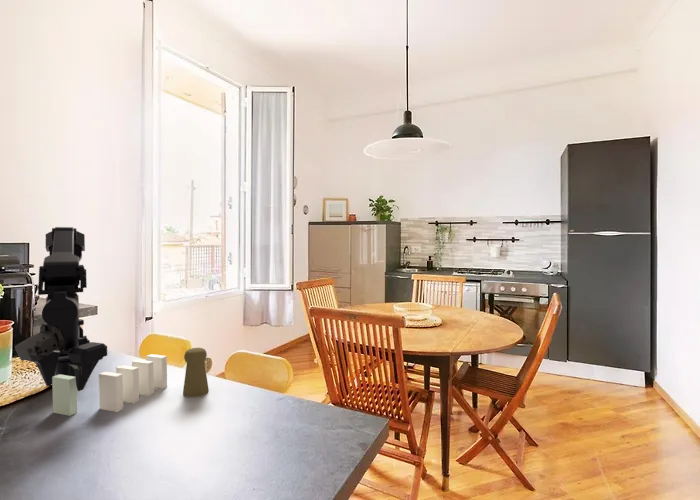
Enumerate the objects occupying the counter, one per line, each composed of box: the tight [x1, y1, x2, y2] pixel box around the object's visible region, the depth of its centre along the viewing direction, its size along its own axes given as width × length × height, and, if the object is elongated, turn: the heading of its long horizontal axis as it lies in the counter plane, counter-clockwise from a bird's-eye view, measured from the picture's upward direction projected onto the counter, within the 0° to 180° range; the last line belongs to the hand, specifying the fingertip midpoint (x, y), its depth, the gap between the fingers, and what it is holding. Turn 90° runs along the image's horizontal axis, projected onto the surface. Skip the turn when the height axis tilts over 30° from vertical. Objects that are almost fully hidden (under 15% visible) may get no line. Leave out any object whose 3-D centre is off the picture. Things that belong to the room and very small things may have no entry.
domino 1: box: [98, 371, 124, 413], centre depth 87 cm, size 2×5×8 cm, turn 73°
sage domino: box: [51, 374, 78, 417], centre depth 85 cm, size 2×5×8 cm, turn 73°
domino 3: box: [131, 358, 155, 397], centre depth 96 cm, size 2×5×8 cm, turn 73°
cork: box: [182, 347, 210, 398], centre depth 97 cm, size 6×6×11 cm
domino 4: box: [145, 353, 168, 390], centre depth 100 cm, size 2×5×8 cm, turn 73°
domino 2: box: [115, 364, 140, 404], centre depth 92 cm, size 2×5×8 cm, turn 73°
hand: (64, 387), depth 86 cm, fingers open, 9 cm apart
